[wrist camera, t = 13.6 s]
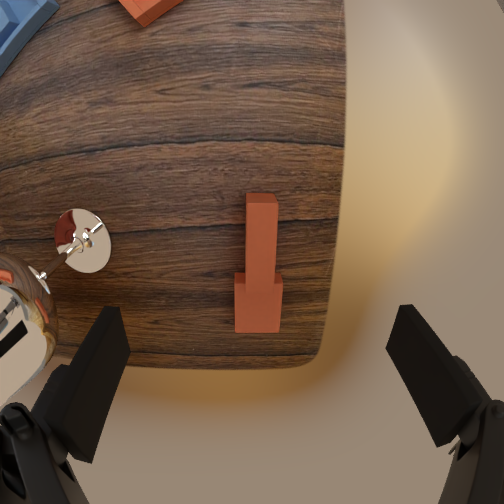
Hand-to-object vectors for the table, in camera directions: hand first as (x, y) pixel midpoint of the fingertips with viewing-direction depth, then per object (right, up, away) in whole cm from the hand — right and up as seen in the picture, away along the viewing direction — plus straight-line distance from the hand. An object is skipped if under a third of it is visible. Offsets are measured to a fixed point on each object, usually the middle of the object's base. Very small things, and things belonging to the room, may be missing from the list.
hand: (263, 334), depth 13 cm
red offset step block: (0, +3, +13) cm, 13 cm away
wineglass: (-16, +5, +12) cm, 20 cm away
